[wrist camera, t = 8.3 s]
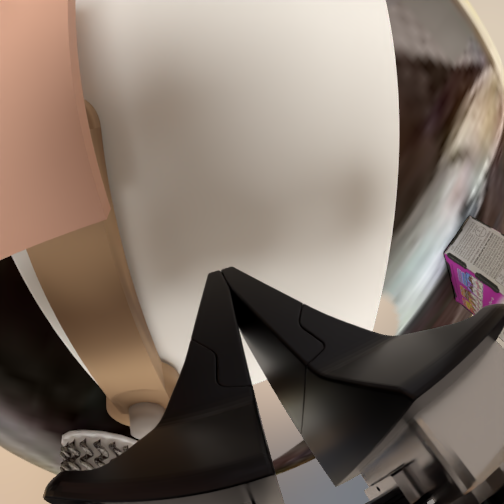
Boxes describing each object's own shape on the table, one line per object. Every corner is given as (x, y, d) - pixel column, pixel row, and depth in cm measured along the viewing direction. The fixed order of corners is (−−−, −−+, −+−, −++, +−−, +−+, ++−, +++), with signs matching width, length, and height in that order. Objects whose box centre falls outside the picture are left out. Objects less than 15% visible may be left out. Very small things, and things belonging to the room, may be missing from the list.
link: (187, 395, 15) (199, 441, 12) (123, 405, 14) (127, 451, 11) (117, 80, 7) (97, 63, 4) (9, 116, 6) (-44, 124, 3)
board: (128, 411, 16) (128, 416, 15) (-28, 52, 3) (-33, 51, 3) (369, 330, 20) (371, 333, 19) (377, -10, 8) (382, -11, 7)
